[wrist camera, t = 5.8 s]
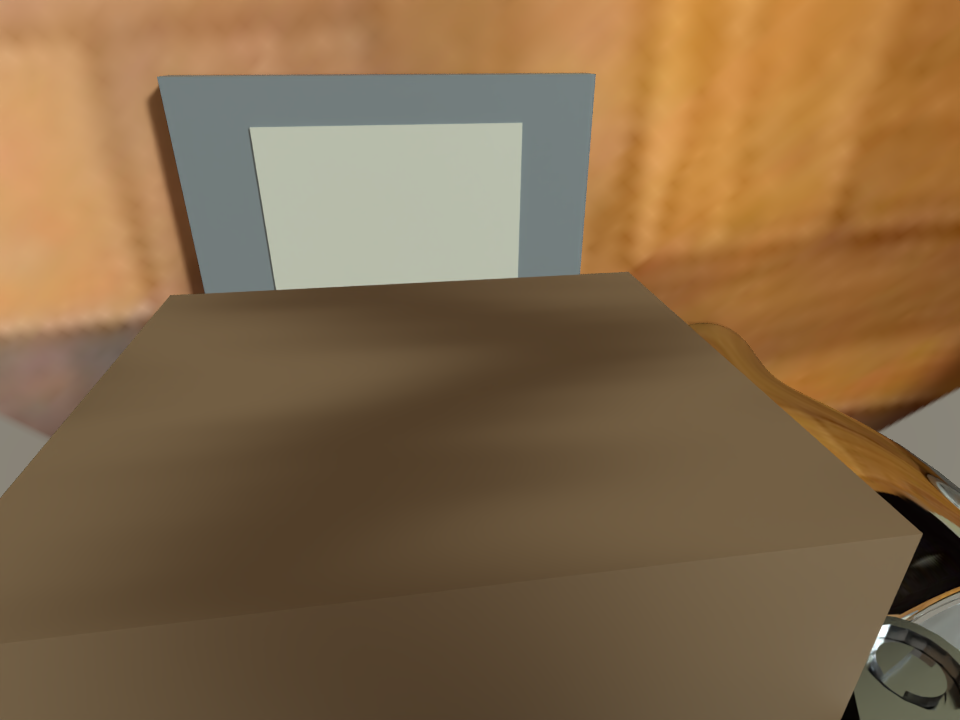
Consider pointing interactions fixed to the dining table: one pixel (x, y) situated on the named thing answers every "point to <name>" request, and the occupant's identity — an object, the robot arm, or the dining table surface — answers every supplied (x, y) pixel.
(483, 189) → the board
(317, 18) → the dining table surface
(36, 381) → the dining table surface
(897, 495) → the metal cup
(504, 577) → the walnut block
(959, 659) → the robot arm
